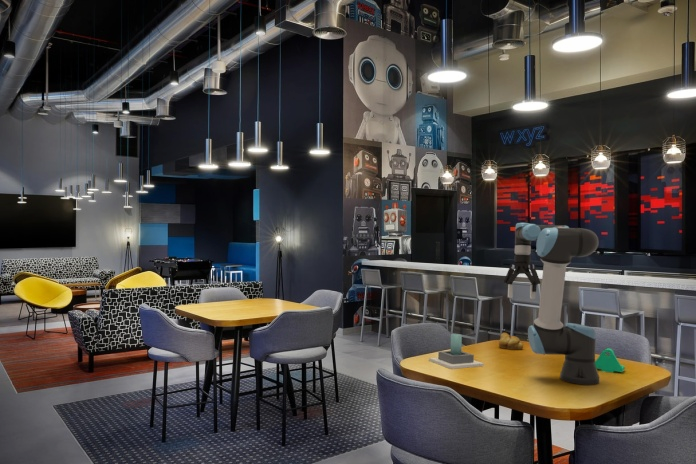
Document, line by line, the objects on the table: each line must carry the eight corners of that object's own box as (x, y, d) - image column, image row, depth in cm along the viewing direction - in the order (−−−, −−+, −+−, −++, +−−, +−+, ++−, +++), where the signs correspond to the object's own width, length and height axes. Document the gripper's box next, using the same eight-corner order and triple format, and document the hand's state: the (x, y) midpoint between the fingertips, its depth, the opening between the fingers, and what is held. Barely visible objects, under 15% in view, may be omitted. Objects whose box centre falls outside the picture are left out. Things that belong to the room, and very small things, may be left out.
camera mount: (625, 371, 246) (625, 348, 247) (621, 374, 240) (622, 351, 240) (596, 367, 254) (596, 345, 254) (592, 370, 247) (593, 347, 248)
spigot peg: (463, 361, 253) (463, 335, 254) (454, 362, 251) (455, 336, 252) (456, 359, 258) (457, 333, 258) (448, 359, 256) (448, 334, 256)
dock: (483, 366, 250) (483, 355, 250) (451, 369, 243) (451, 358, 243) (459, 358, 266) (460, 348, 267) (428, 360, 259) (429, 350, 259)
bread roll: (525, 349, 294) (525, 334, 294) (519, 351, 286) (519, 336, 286) (502, 345, 301) (502, 331, 302) (495, 348, 294) (495, 333, 294)
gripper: (548, 254, 257) (547, 299, 255) (508, 255, 279) (506, 297, 276) (538, 253, 254) (536, 299, 251) (497, 254, 275) (496, 296, 272)
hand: (521, 298), depth 264 cm, fingers open, 13 cm apart
